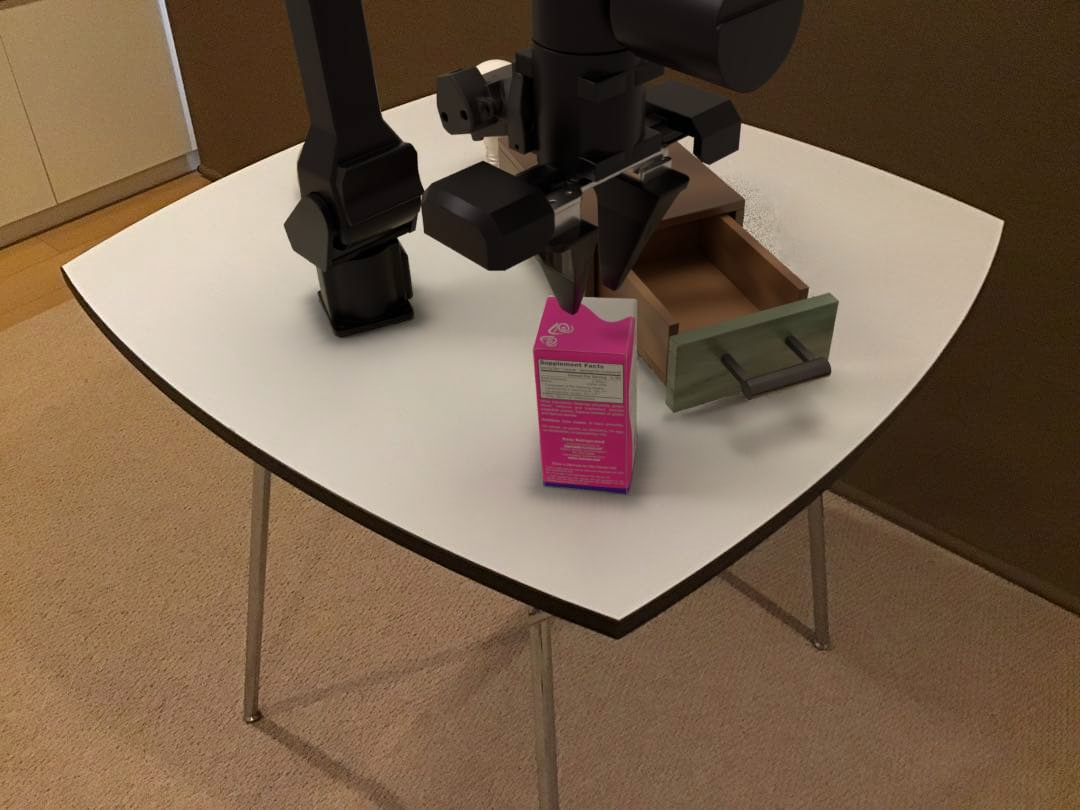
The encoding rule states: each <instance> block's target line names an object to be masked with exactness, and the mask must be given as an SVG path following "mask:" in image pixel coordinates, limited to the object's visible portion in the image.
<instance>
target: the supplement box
mask: <svg viewBox="0 0 1080 810" xmlns="http://www.w3.org/2000/svg"><path fill="white" fill-rule="evenodd" d="M532 356H533V357H532V358H533V368H534V382H535V397H536V409H537V423H538V435H539V436H538V437H539V450H540V461H541V475H542V485H543V487H548V488H549V487H550V488H561V489H570V490H571V489H572V490H583V491H592V492H593V491H594V492H601V493H602V492H603V493H610V494H620V495H628V494H629V493H630V489H631V485H632V480H633V473H634V466H635V461H636V451H637V447H638V445H637V444H638V422H637V421H638V414H637V413H638V406H637V405H638V351H637V300H636V299H627V298H594V297H583V299H582V302H581V305H580V308H579V310H578V312H577V313H576V314H574V315H570V314H569V313H567V312H565V311H564V310H562V309H561V308H560V306H559V304H558V302H557V300H556V297H555V295H554V294H548V296H547V298H546V301H545V305H544V308H543V311H542V315H541V318H540V323H539V326H538V329H537V333H536V337H535V341H534V344H533V347H532Z"/></svg>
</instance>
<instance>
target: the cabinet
mask: <svg viewBox="0 0 1080 810" xmlns="http://www.w3.org/2000/svg"><path fill="white" fill-rule="evenodd" d="M498 153H499V168H500V169H502V170H504V171H506V172H508V173H510V174H512V175H514V176H515V175H516V174H517V173H520V172H522V171H524V170H526V169H528V168H531V167H533V166H535V165H537V164H538V162H537V155H535V154H533V153H531V152H530V153H527V154H525V155H522V154H520V153H518V152H516V151H514V150H512V149H510V148H509V141H508V136H504V137H499V138H498ZM668 157H671V158H672V164H671V168H672V169H674V170H677V171H679V172H682V173H684V174H686V175H688V176H689V178H690V182H689V185H688V187H687V188H686V189H684V190H683V191H681V192H680V193H679V195H678V196H677V198H676V199H675V201H674V202H673V204H672V205H671V206H670V208H669V209H668V211H667V212H666V214H665V215H664V217H663V218H662V220H661V221H660V223H659V224H658V226H657V227H656V229H655V230H658V229H662V228H666V227H670V226H674V225H678V224H682V223H686V222H690V221H695V220H699V219H703V218H707V217H711V216H715V215H719V214H723V213H727V214H728V215H729V216H730V217H731V218H733V219H734V220H735V221H736V222H737V223H738V224H739V225H740V226H741V227H743V228H744V221H745V213H746V201H747V200H746V199H745V198H744V197H743V196H742V195H741V194H739V193H738V192H737V191H736V190H735V189H734V188H733V187H732V186H730V184H728V183H727V182H726V181H724V180H723V179H722V178H721V177H720V176H719V175H717V174H716V173H715V172H714V171H713V170H712V169H711V168H709V167H708V166H707V164H705V163H703V162H701V161H700V160H699V159H698V158H697V157H696V156H695V155H694V154H693V152H691V151H689V150H688V149H687V148H686V147H685V146H684V145H682V144H681V143H680V142H679V141H677V142H675V143H673V144H671V145H669V156H668ZM581 219H583V220H585V221H587V222H589V223H591V224H593V225H595V226H597V227H598V210H597V197H596V193H595V191H594V189H593V187H592V188H590V189H588V190H586V191H584V192H582V201H581ZM596 244H599V240H598V238H597V242H596ZM533 257H534V258H535V260H536V261H537V262H538V263H539V261H538V259H537V257H536V255H535V256H533ZM583 297H594V254H593V258H592V263H591V267H590V271H589V275H588V280H587V284H586V288H585V292H584V296H583Z"/></svg>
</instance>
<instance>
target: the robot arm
mask: <svg viewBox="0 0 1080 810" xmlns="http://www.w3.org/2000/svg"><path fill="white" fill-rule="evenodd" d="M363 3H364V2H363V0H284V6H285V9H286V13H287V19H288V23H289V28H290V33H291V37H292V42H293V47H294V51H295V55H296V60H297V65H298V70H299V75H300V79H301V84H302V89H303V93H304V97H305V103H306V107H307V113H308V116H309V128H308V131H307V134H306V135H305V139H304V142H303V144H304V145H302V146H303V148H302V151H301V154H300V157H299V160H298V163H297V162H296V172H297V171H298V178H299V183H298V187H299V186H300V187H299V192H300V200H299V201H298V203H297V204H296V205H295V207H294V208H293V210H292V211H291V213H290V214H289V215H288V217H286V218H287V219H286V220H285V221H284V222H283V229H284V231H285V233H286V234H285V235H286V237H287V239H288V241H289V245H290V247H291V249H292V251H293V252H294V253H296V254H297V255H299V256H300V257H302V258H304V259H305V260H306V261H308V262H309V263H311V264H312V265H313V266H315V268H316V269H315V270H316V274H317V279H318V284H319V288H320V290H318V291H317V297H318V298H317V299H318V300H319V302H320V305H321V307H322V309H323V311H324V314H325V317H326V318H327V322H328V324H329V325H330V328H331V330H332V332H333V335H334V336H336V337H343V336H347V335H351V334H355V333H359V332H362V331H367V330H370V329H374V328H375V329H376V328H378V327H383V326H387V325H391V324H395V323H399V322H402V321H408V320H410V319H413V318H414V317H415V310H414V308H413V306H412V304H411V303H410V301H409V300H412V299H413V297H414V291H413V282H412V275H411V267H410V261H409V254H408V253H407V251H406V250H405V248H404V246H403V244H402V243H401V241H400V239H399V238H400V237H402V236H404V235H407V234H412V233H414V232H415V231H416V230H417V224H418V217H419V213H420V212H421V220H422V227H423V234H425V235H426V236H428V237H430V238H432V239H433V240H435V241H436V242H438V243H440V244H442V245H443V246H445V247H447V248H449V249H450V250H452V251H454V252H456V253H457V254H458V255H460V256H462V257H464V258H466V259H468V260H469V261H471V262H472V263H474V264H476V265H478V266H480V267H481V268H482V269H484V270H486V271H488V272H506V271H508V270H510V269H511V268H513V267H515V266H518V265H519V264H521V263H523V262H525V261H527V260H529V259H531V258H533V257H534V256H535V255H536V257H537V259H538V261H539V262H538V261H537V262H538V263H539V266H540V267H541V269H542V272H543V273H544V275H545V278H546V280H547V282H548V285H549V287H550V289H551V291H552V293H553V295H555V297H556V300H557V302H558V304H559V306H560V308H561V309H562V310H564V311H565V312H567V313H569V314H570V315H574V314H576V313H577V312H578V310H579V308H580V305H581V302H582V299H583V296H584V292H585V288H586V284H587V280H588V275H589V271H590V267H591V263H592V258H593V254H594V251H595V246H596V242H597V238H598V240H599V264H600V272H601V279H602V284H603V286H605V287H606V288H608V289H610V290H612V291H616V290H618V289H619V288H620V287H621V285H622V284H623V282H624V280H625V279H626V277H627V275H628V274H629V272H630V270H631V268H632V267H633V265H634V263H635V262H636V260H637V258H638V257H639V255H640V253H641V252H642V250H643V248H644V247H645V245H646V243H647V242H648V240H649V238H650V237H651V235H652V234H653V232H654V231H655V229H656V227H657V226H658V224H659V223H660V221H661V220H662V218H663V217H664V215H665V214H666V212H667V211H668V209H669V208H670V206H671V205H672V204H673V202H674V201H675V199H676V198H677V196H678V195H679V193H680V192H681V191H683V190H684V189H686V188H687V187H688V185H689V182H690V178H689V176H688V175H686V174H684V173H682V172H679V171H677V170H674V169H672V168H671V164H672V158H671V157H668V156H669V145H671V144H673V143H675V142H677V141H678V142H679V141H681V140H684V139H685V138H687V137H690V138H693V146H692V154H693V155H694V156H695V157H696V158H697V159H699V160H700V161H701V162H702V163H703V164H704V165H706V166H707V165H708V166H711V165H713V164H715V163H717V162H718V161H721V160H723V159H724V158H726V157H728V156H730V155H732V154H734V153H735V152H737V151H740V141H741V132H742V131H741V130H742V121H743V120H742V118H741V116H740V114H739V112H738V110H737V109H736V107H735V105H734V103H733V102H732V100H731V99H730V98H728V97H725V96H722V95H720V94H718V93H714V92H711V91H709V90H705V89H704V88H700V87H698V86H695V85H692V84H690V83H686V82H683V81H681V80H679V79H675V78H673V77H670V78H667V79H665V80H663V81H661V82H658V83H657V84H654V85H652V86H649V87H647V83H648V82H651V81H653V80H656V79H657V78H660V77H662V76H664V75H665V68H667V69H670V70H673V71H676V72H679V73H681V74H684V75H687V76H690V77H693V78H695V79H698V80H700V81H704V82H707V83H709V84H713V85H714V86H718V87H721V88H723V89H726V90H730V91H731V92H736V93H739V94H748V93H752V92H755V91H757V90H759V89H761V87H763V86H764V85H765V84H767V83H768V82H769V81H770V80H771V79H772V78H773V77H774V76H775V75H776V74H777V72H778V71H779V70H780V69H781V68H782V66H783V64H784V63H785V60H786V59H787V58H788V56H789V54H790V52H791V50H792V47H793V46H794V44H795V41H796V39H797V36H798V33H799V30H800V26H801V23H802V18H803V13H804V8H805V0H529V16H530V19H529V20H530V44H531V45H530V46H528V47H525V48H522V49H520V50H517V51H515V52H514V56H513V58H512V60H511V63H512V64H509V65H506V66H503V67H500V68H498V69H495V70H493V71H490V72H487V73H485V74H481V73H480V71H479V69H478V68H477V67H476V66H470V67H467V68H461V67H460V68H457V69H454V70H451V71H448V72H446V73H443V74H439V75H437V76H435V91H436V92H435V93H436V94H435V95H436V96H435V98H436V99H435V100H436V110H437V112H438V115H439V119H440V122H441V125H442V128H443V130H445V131H446V132H447V133H448V134H449V135H451V136H458V135H470V137H471V140H472V141H473V142H481V141H483V139H484V137H496V136H508V141H509V148H510V149H512V150H514V151H516V152H518V153H520V154H522V155H525V154H527V153H530V152H531V153H533V154H535V155H537V162H538V164H537V165H535V166H533V167H531V168H528V169H526V170H524V171H522V172H520V173H517V174H516V175H515V176H514V175H512V174H510V173H508V172H506V171H504V170H502V169H500V168H498V167H496V166H493V165H491V164H489V163H488V162H487V161H485V160H481V161H479V162H476V163H474V164H471V165H469V166H467V167H465V168H463V169H460V170H458V171H456V172H454V173H450V174H449V175H446V176H444V177H442V178H439V179H437V180H435V181H433V182H431V183H430V184H429V185H428V187H427V188H426V189H424V186H423V183H422V181H421V175H420V171H419V159H418V158H419V156H418V153H419V152H418V151H417V149H416V148H415V146H414V145H413V144H412V143H411V142H409V141H408V142H407V141H404V140H403V139H402V138H401V137H400V136H399V135H398V134H397V133H396V131H395V130H394V129H393V128H392V127H391V126H390V125H389V124H388V123H387V121H386V120H385V119H384V118H383V113H382V109H381V104H380V97H379V90H378V86H377V79H376V74H375V67H374V62H373V57H372V51H371V45H370V44H371V43H370V39H369V38H370V37H369V33H368V27H367V20H366V16H365V9H364V4H363ZM592 187H593V189H594V191H595V193H596V197H597V210H598V227H597V226H595V225H593V224H591V223H589V222H587V221H585V220H583V219H581V201H582V192H584V191H586V190H588V189H590V188H592ZM537 259H536V260H537Z"/></svg>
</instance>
